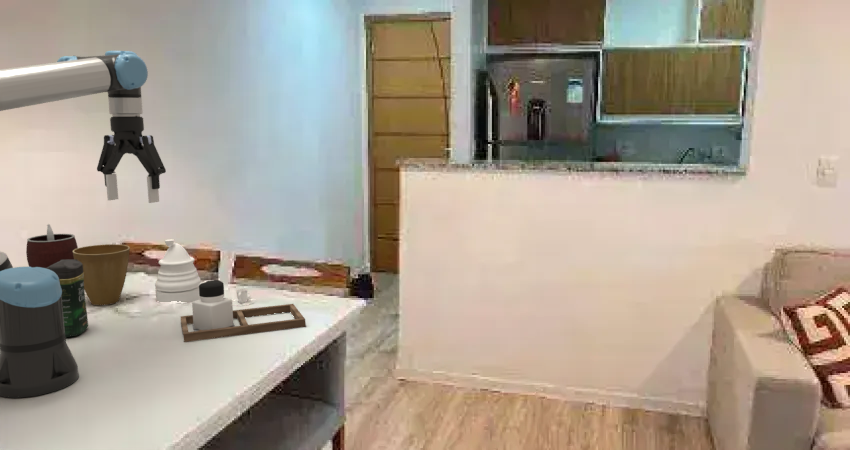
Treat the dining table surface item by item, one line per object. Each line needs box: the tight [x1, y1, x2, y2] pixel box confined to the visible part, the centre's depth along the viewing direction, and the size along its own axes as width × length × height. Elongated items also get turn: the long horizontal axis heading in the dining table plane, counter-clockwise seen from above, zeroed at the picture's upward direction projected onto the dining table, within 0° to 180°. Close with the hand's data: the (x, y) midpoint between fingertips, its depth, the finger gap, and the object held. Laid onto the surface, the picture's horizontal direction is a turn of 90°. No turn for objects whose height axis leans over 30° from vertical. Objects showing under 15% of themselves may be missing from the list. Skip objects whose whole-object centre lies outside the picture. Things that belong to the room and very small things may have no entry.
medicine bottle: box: [191, 279, 234, 330], centre depth 170 cm, size 7×7×12 cm
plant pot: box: [73, 243, 131, 306], centre depth 195 cm, size 15×15×16 cm
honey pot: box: [154, 238, 202, 304], centre depth 198 cm, size 13×13×18 cm
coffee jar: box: [46, 259, 89, 339], centre depth 167 cm, size 10×8×19 cm
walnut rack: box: [179, 303, 306, 343], centre depth 174 cm, size 15×30×2 cm, turn 112°
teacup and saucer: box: [232, 288, 256, 307], centre depth 196 cm, size 9×8×4 cm
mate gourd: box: [26, 223, 79, 268], centre depth 207 cm, size 16×14×20 cm
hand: (133, 201), depth 169 cm, fingers open, 13 cm apart
